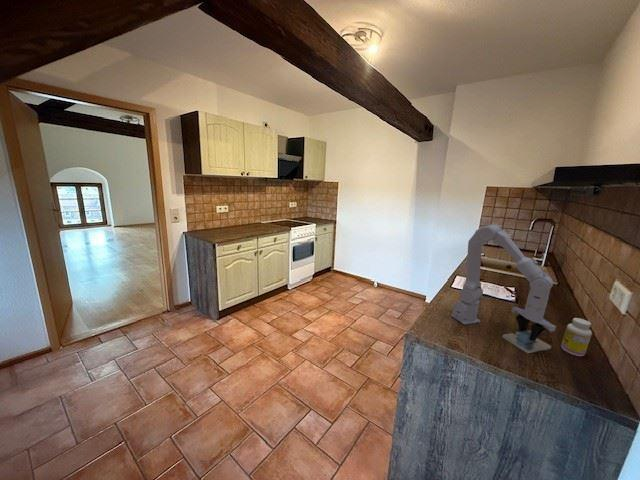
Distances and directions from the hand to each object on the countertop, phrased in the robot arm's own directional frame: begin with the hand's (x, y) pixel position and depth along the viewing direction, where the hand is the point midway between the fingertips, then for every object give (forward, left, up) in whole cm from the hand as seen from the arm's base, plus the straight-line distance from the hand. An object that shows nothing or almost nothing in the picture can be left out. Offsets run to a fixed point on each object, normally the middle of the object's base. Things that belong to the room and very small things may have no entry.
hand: (527, 337), depth 100 cm
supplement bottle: (+13, -8, -3) cm, 16 cm away
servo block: (0, 0, -3) cm, 3 cm away
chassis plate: (0, 0, -3) cm, 3 cm away
